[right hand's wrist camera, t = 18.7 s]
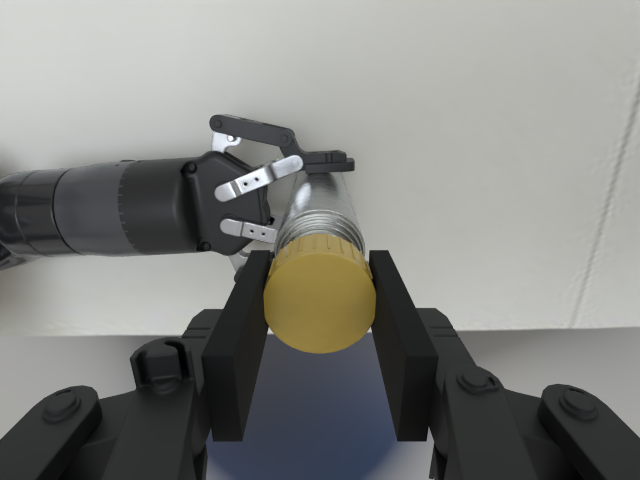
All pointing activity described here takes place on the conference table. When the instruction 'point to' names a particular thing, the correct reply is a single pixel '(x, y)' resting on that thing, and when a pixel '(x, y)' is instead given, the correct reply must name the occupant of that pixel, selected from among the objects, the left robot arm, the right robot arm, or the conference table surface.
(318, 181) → the bottle
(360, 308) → the cap
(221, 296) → the conference table surface
